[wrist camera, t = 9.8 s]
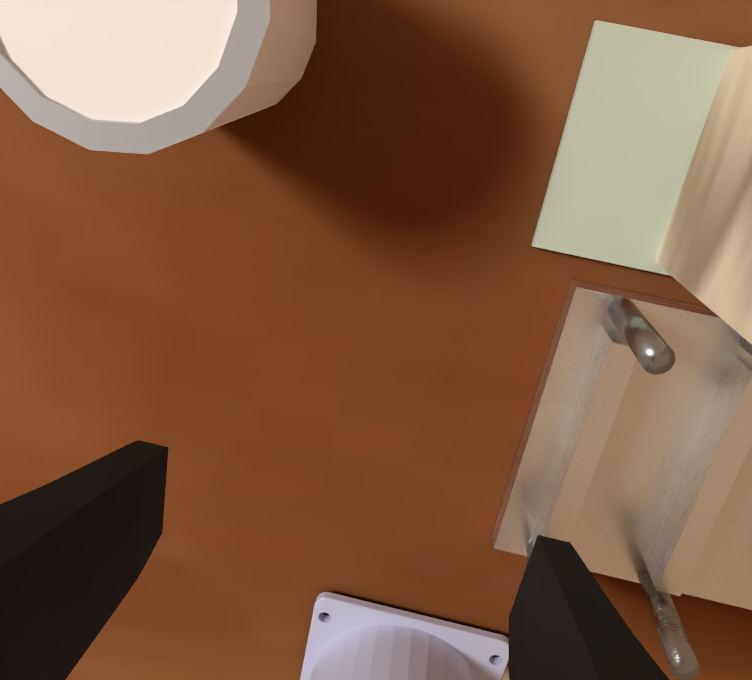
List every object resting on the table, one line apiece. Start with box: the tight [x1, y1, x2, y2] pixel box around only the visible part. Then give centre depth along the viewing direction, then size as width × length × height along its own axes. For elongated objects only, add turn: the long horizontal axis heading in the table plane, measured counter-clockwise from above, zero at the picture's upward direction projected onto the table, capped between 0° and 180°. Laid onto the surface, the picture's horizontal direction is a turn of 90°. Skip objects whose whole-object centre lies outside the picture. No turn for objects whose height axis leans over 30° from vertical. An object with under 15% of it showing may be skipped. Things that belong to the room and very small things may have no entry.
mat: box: [532, 20, 739, 276], centre depth 18 cm, size 6×10×1 cm, turn 79°
